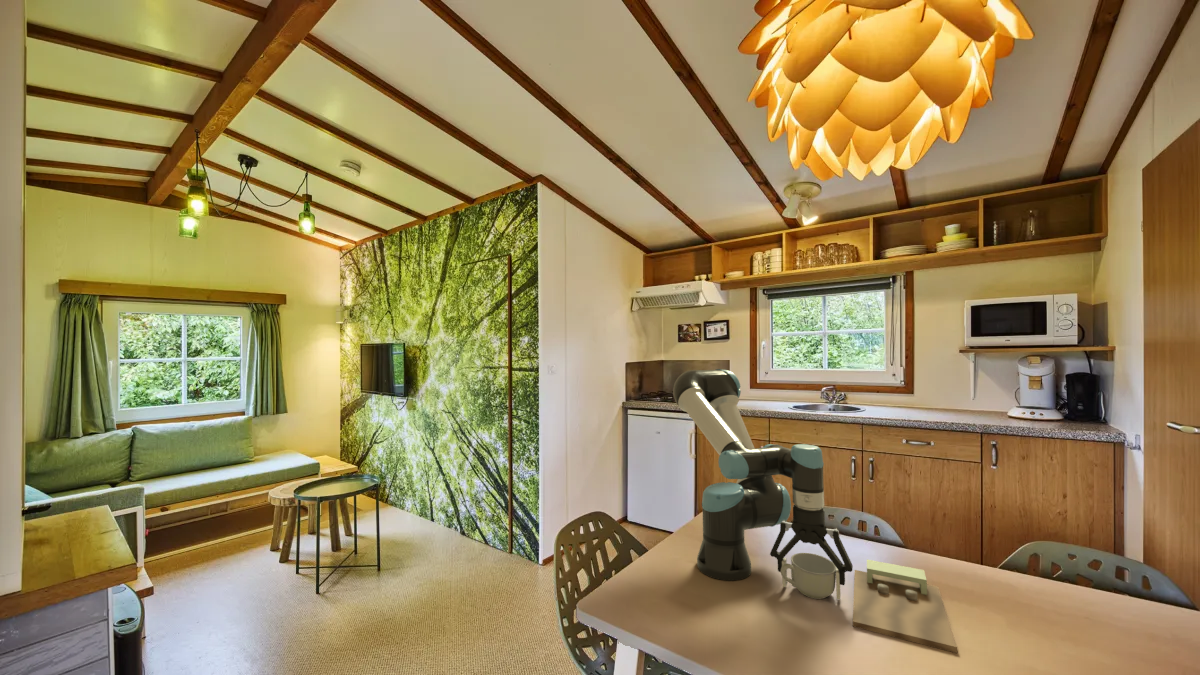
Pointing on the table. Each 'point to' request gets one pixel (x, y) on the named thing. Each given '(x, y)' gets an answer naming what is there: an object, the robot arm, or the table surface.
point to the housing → (897, 573)
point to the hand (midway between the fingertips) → (810, 590)
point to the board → (902, 611)
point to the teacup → (811, 575)
